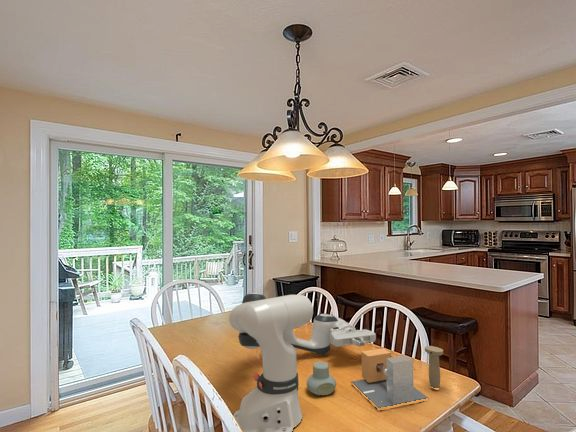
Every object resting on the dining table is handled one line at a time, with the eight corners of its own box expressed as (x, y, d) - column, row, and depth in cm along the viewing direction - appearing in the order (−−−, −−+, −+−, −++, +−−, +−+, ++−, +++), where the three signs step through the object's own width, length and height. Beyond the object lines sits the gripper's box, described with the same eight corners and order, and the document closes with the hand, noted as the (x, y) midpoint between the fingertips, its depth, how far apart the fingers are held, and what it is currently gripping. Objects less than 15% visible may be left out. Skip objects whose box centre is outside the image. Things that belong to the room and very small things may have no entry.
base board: (378, 411, 109) (378, 407, 109) (351, 384, 128) (351, 381, 128) (428, 400, 115) (428, 397, 115) (395, 376, 133) (395, 373, 133)
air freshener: (311, 399, 117) (311, 371, 117) (303, 388, 125) (303, 362, 125) (339, 394, 120) (339, 367, 120) (330, 384, 128) (329, 358, 128)
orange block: (368, 382, 125) (368, 356, 125) (362, 376, 130) (361, 351, 130) (391, 378, 128) (390, 352, 128) (384, 373, 132) (383, 348, 133)
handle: (428, 383, 127) (428, 344, 128) (446, 389, 123) (445, 349, 123) (423, 388, 124) (422, 348, 124) (440, 394, 119) (440, 353, 120)
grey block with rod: (393, 404, 111) (393, 363, 111) (369, 383, 126) (368, 346, 126) (413, 400, 113) (412, 359, 114) (387, 380, 128) (386, 344, 129)
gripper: (366, 337, 155) (383, 348, 142) (327, 343, 149) (340, 354, 136) (366, 324, 155) (383, 333, 142) (326, 329, 149) (340, 339, 136)
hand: (362, 344), depth 139 cm, fingers closed
